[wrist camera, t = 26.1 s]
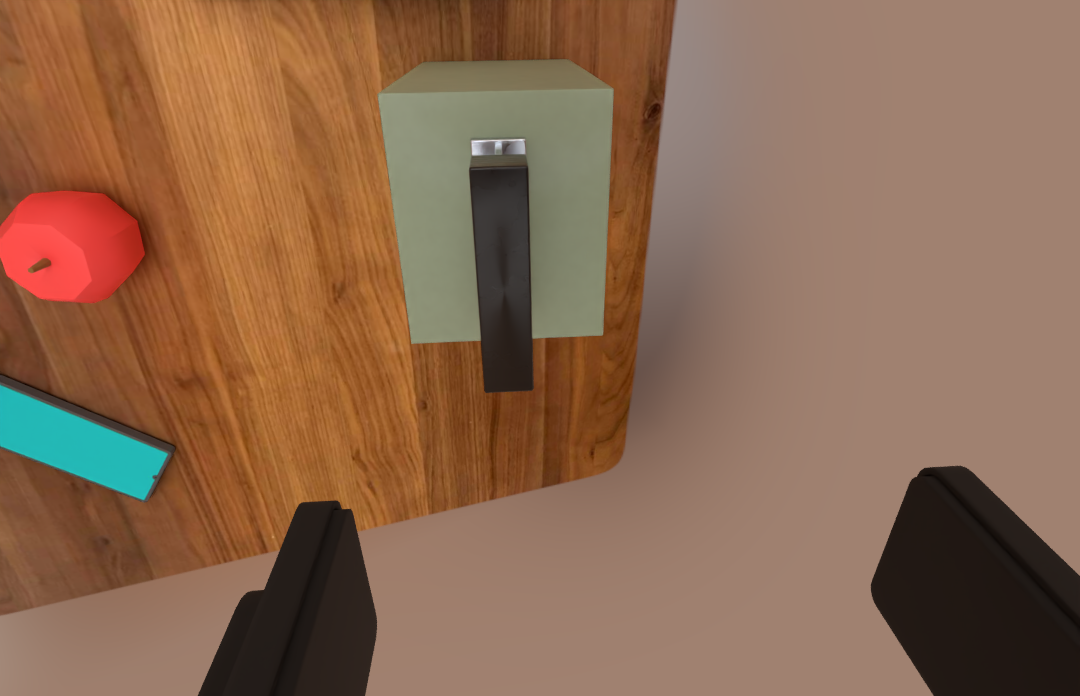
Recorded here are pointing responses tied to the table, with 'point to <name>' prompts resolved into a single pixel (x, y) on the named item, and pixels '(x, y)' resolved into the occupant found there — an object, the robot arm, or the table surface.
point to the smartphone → (79, 441)
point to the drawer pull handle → (503, 260)
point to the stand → (554, 188)
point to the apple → (70, 246)
